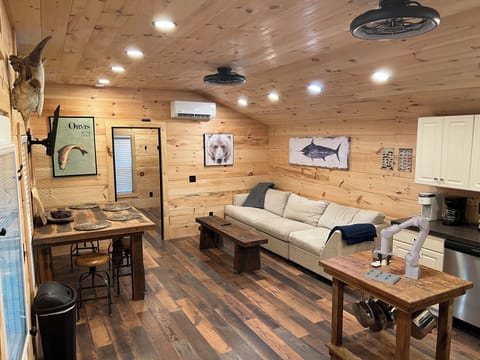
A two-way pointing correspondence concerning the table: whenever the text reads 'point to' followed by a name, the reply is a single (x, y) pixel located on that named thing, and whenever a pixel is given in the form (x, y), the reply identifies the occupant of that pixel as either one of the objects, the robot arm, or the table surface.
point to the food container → (374, 255)
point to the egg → (384, 263)
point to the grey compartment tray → (382, 276)
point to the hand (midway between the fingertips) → (384, 264)
